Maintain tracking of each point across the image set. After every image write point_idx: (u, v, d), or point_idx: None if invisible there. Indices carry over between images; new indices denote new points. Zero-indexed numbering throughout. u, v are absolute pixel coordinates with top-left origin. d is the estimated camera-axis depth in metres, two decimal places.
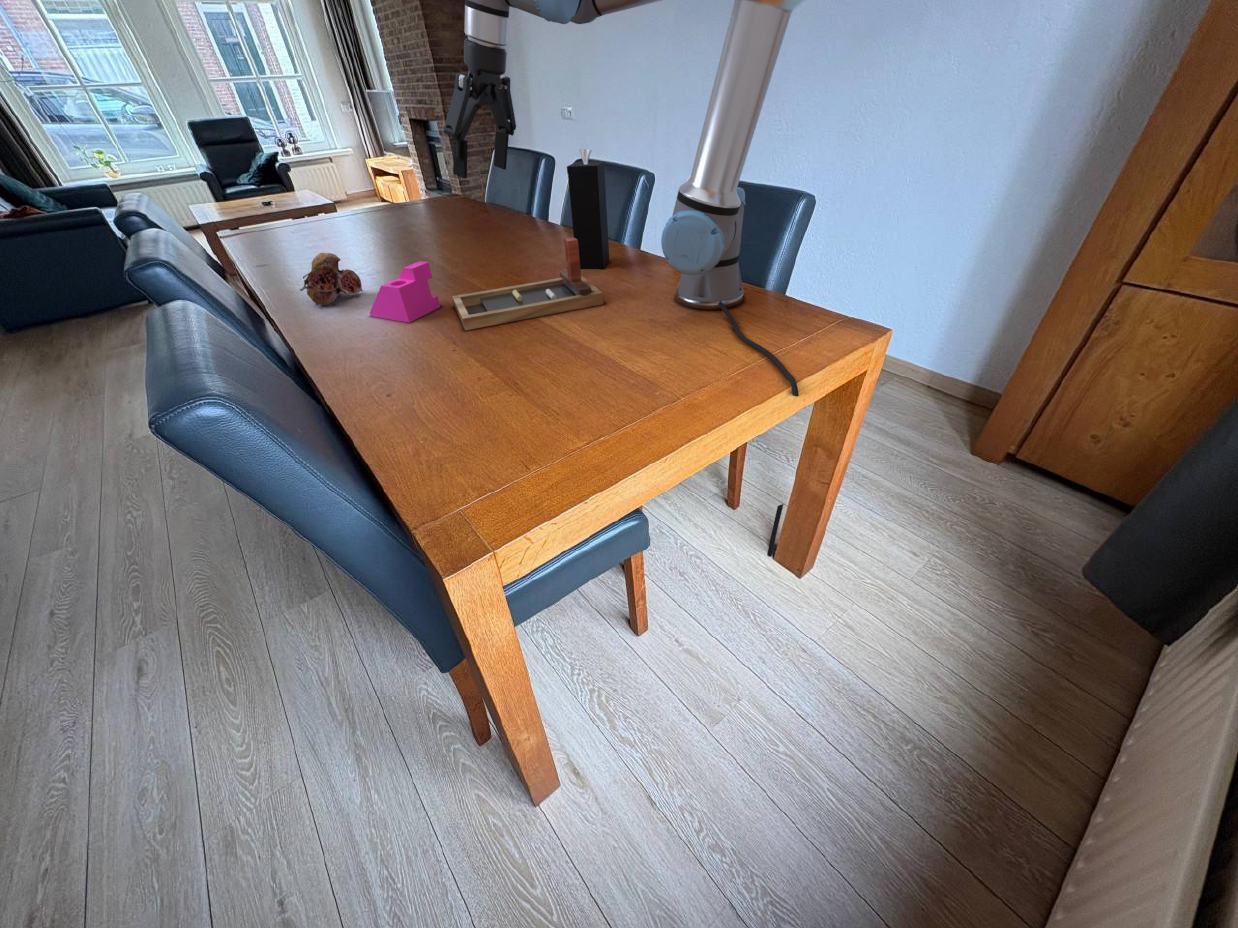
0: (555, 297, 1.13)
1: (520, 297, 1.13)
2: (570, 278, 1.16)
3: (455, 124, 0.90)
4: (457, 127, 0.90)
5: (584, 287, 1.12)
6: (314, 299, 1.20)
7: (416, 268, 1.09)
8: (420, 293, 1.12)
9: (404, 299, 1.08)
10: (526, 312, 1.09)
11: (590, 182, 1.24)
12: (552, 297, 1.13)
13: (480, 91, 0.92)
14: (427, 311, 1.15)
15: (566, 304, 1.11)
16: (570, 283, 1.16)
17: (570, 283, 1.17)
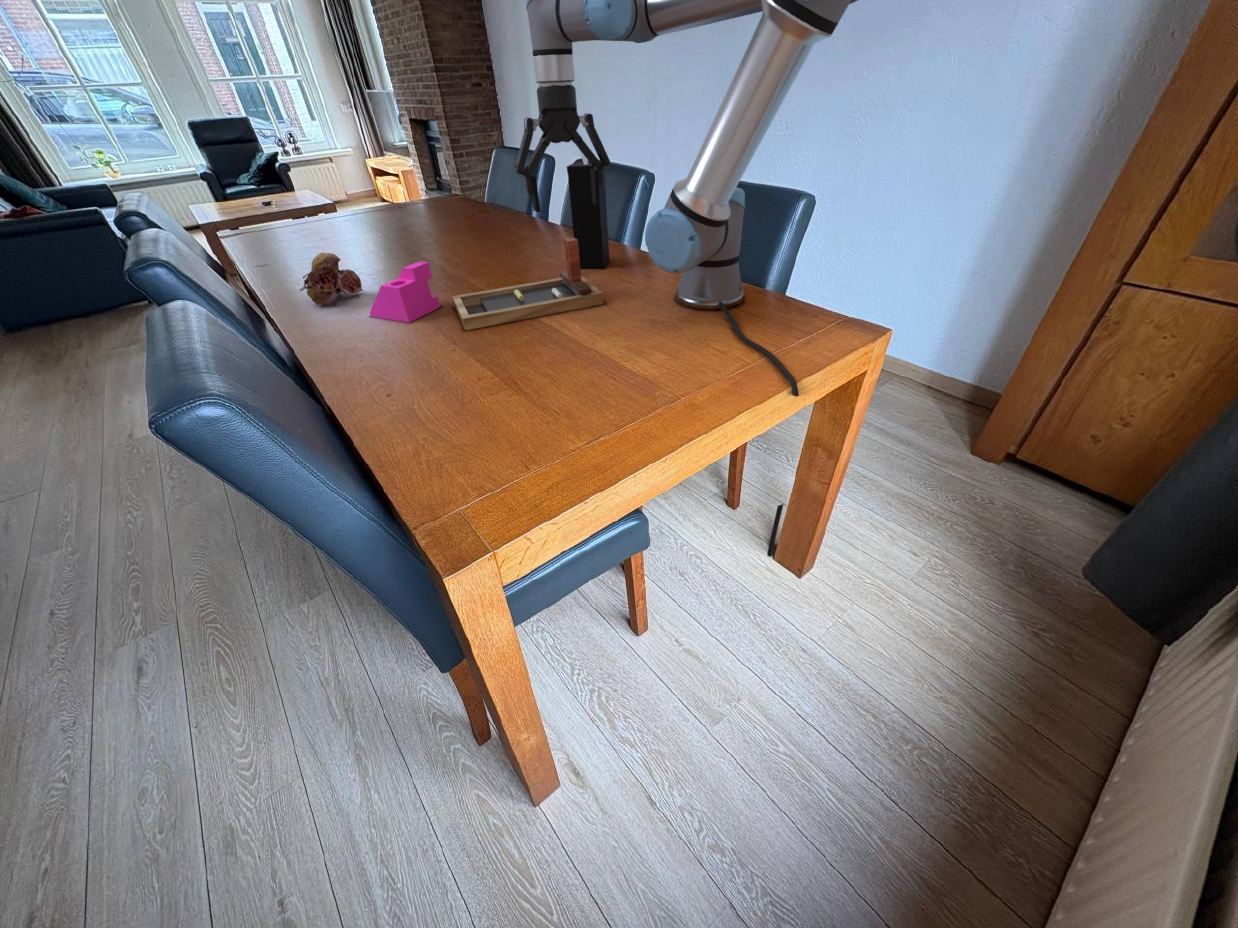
0: None
1: (522, 297, 1.14)
2: (570, 278, 1.16)
3: (518, 162, 0.98)
4: (520, 164, 0.98)
5: (584, 287, 1.12)
6: (314, 299, 1.20)
7: (416, 268, 1.09)
8: (420, 293, 1.12)
9: (404, 299, 1.08)
10: (526, 312, 1.09)
11: (590, 182, 1.24)
12: (562, 295, 1.13)
13: (548, 130, 0.97)
14: (427, 311, 1.15)
15: (566, 304, 1.11)
16: (570, 283, 1.16)
17: (570, 283, 1.17)
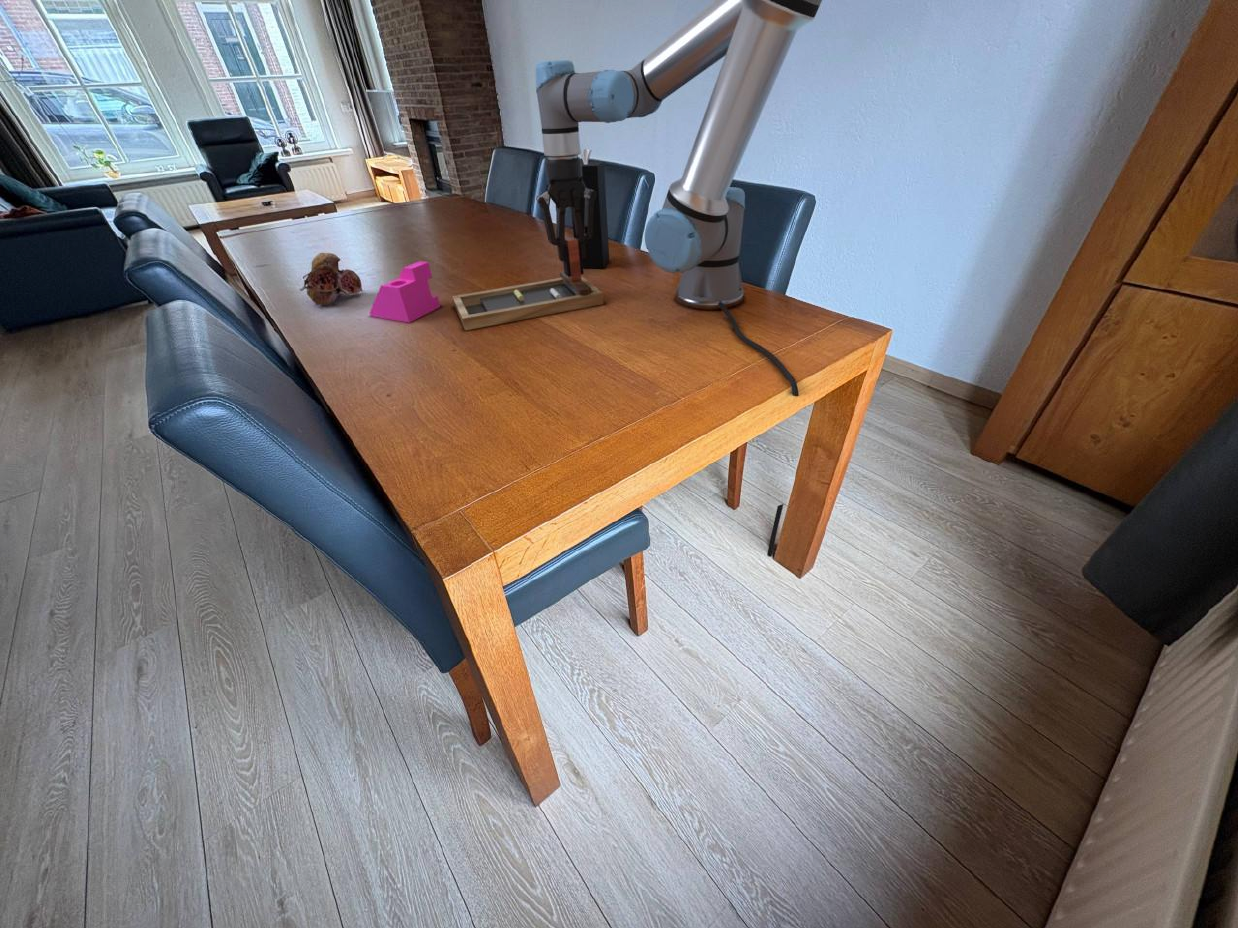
0: (559, 298, 1.13)
1: (522, 297, 1.14)
2: (570, 278, 1.16)
3: (549, 236, 1.08)
4: (551, 237, 1.08)
5: (584, 287, 1.12)
6: (314, 299, 1.20)
7: (416, 268, 1.09)
8: (420, 293, 1.12)
9: (404, 299, 1.08)
10: (526, 312, 1.09)
11: (590, 182, 1.24)
12: (559, 295, 1.13)
13: (559, 200, 1.05)
14: (427, 311, 1.15)
15: (566, 304, 1.11)
16: (570, 283, 1.16)
17: (569, 283, 1.17)
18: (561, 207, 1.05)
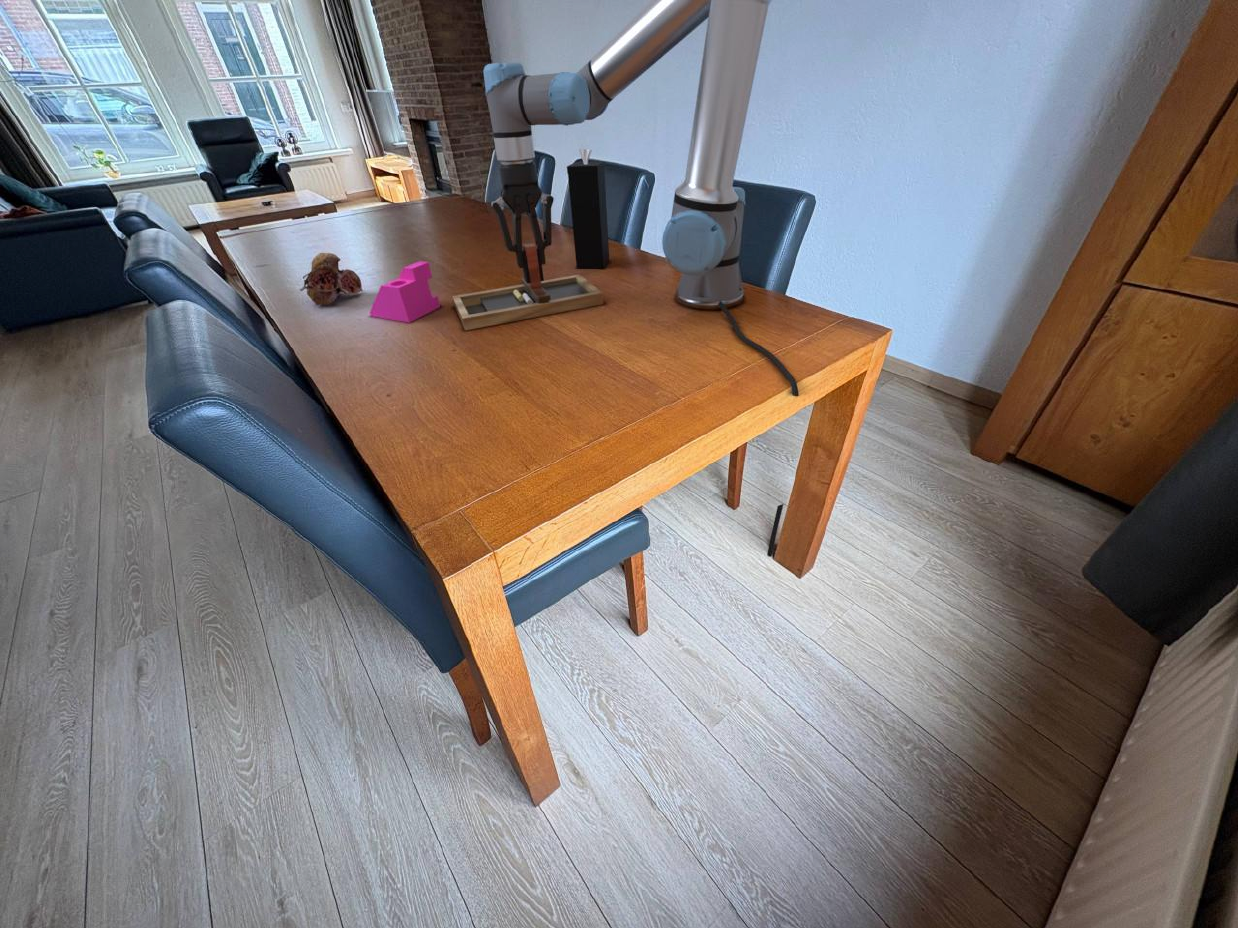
0: (529, 301, 1.11)
1: (521, 297, 1.13)
2: (530, 285, 1.13)
3: (506, 242, 1.06)
4: (508, 243, 1.06)
5: (543, 294, 1.09)
6: (314, 299, 1.20)
7: (416, 268, 1.09)
8: (420, 293, 1.12)
9: (404, 299, 1.08)
10: (526, 312, 1.09)
11: (590, 182, 1.24)
12: None
13: (514, 206, 1.02)
14: (427, 311, 1.15)
15: (566, 304, 1.11)
16: (530, 290, 1.13)
17: (530, 290, 1.14)
18: (516, 213, 1.03)
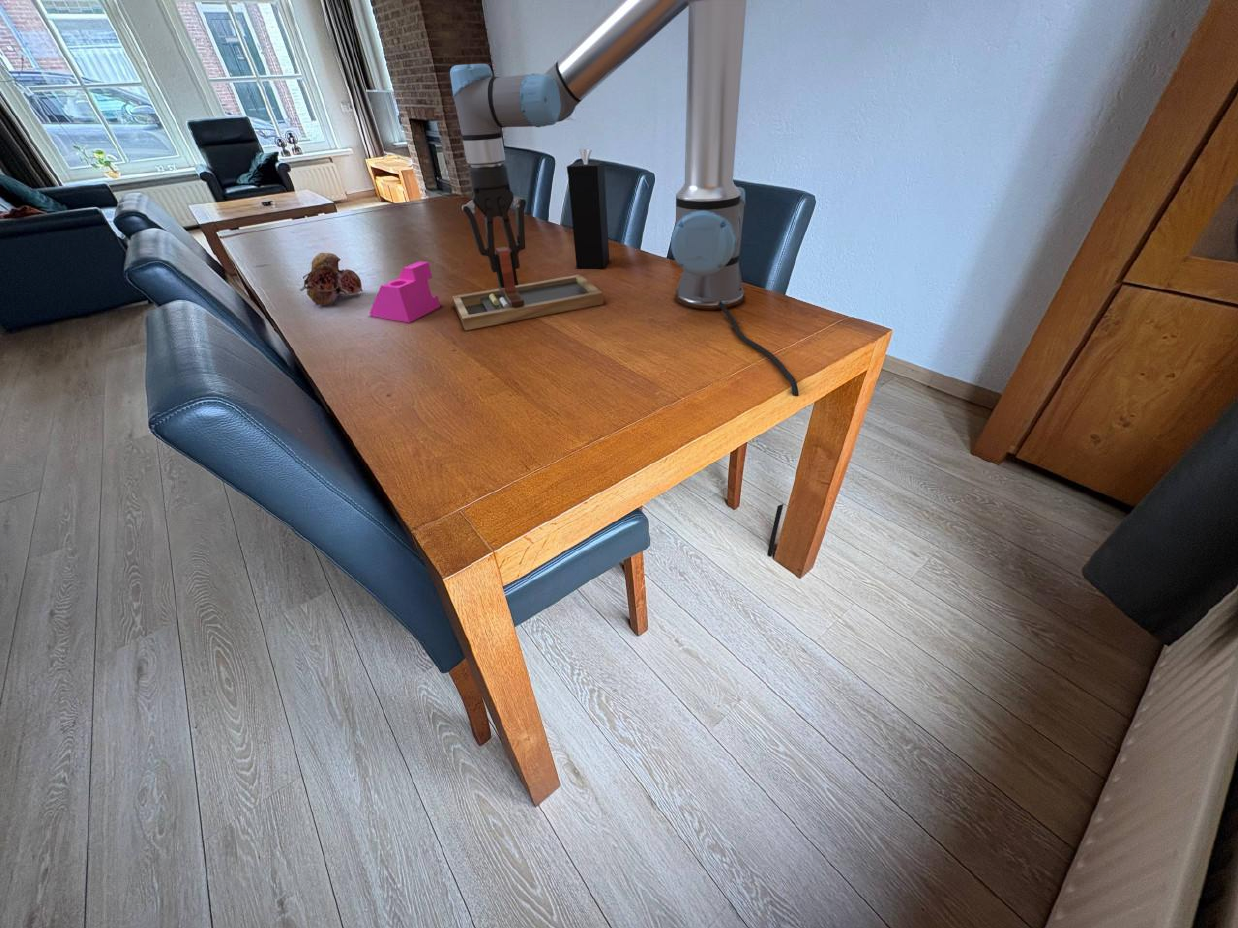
0: (506, 307, 1.10)
1: (494, 303, 1.12)
2: (504, 289, 1.11)
3: (478, 246, 1.04)
4: (480, 247, 1.04)
5: (516, 299, 1.07)
6: (314, 299, 1.20)
7: (416, 268, 1.09)
8: (420, 293, 1.12)
9: (404, 299, 1.08)
10: (526, 312, 1.09)
11: (590, 182, 1.24)
12: (508, 306, 1.10)
13: (485, 209, 1.00)
14: (427, 311, 1.15)
15: (566, 304, 1.11)
16: (504, 294, 1.12)
17: (504, 295, 1.12)
18: (488, 216, 1.01)
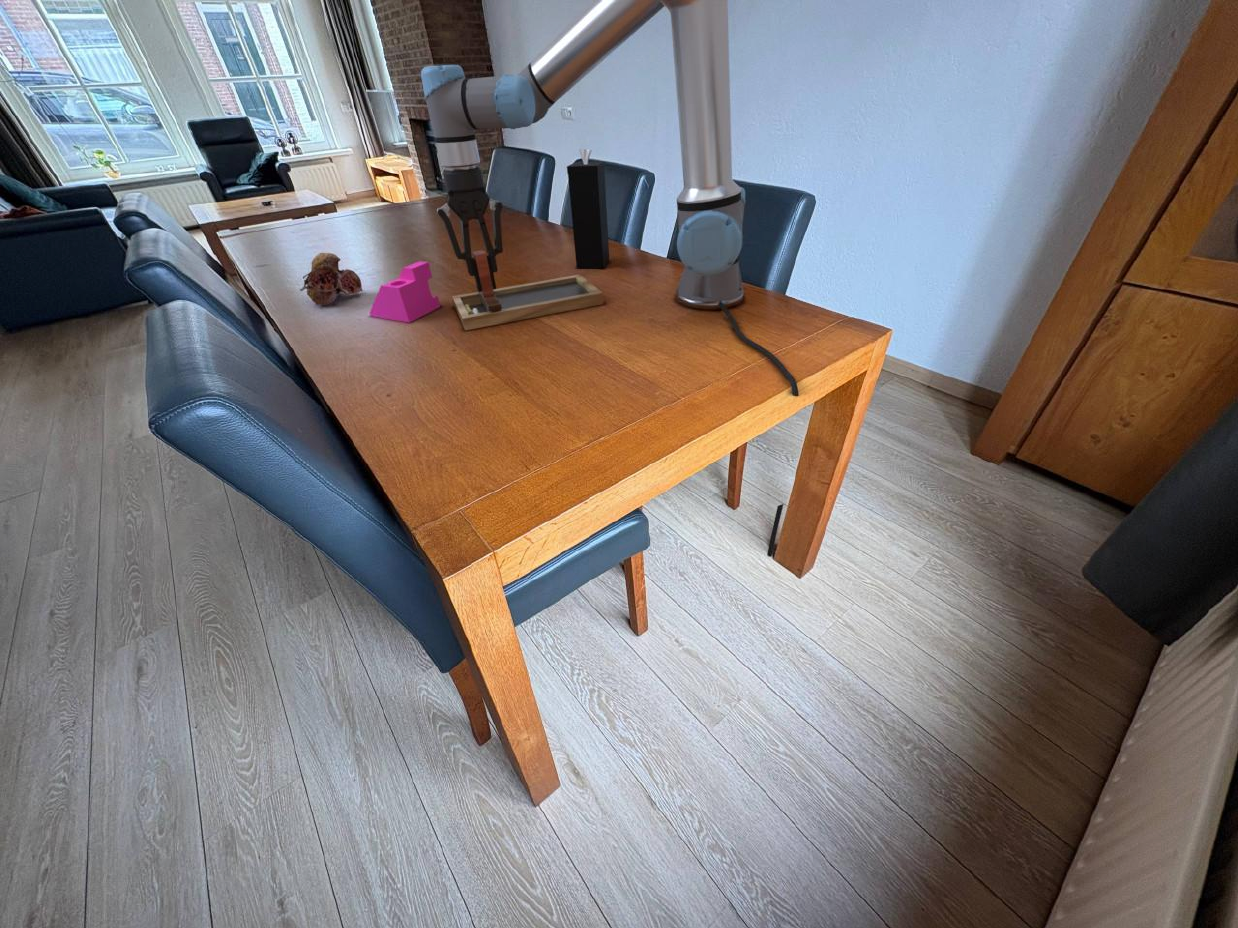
0: None
1: (471, 312, 1.11)
2: (482, 293, 1.10)
3: (454, 250, 1.03)
4: (456, 251, 1.03)
5: (494, 303, 1.06)
6: (314, 299, 1.20)
7: (416, 268, 1.09)
8: (420, 293, 1.12)
9: (404, 299, 1.08)
10: (526, 312, 1.09)
11: (590, 182, 1.24)
12: None
13: (460, 212, 0.99)
14: (427, 311, 1.15)
15: (566, 304, 1.11)
16: (482, 298, 1.10)
17: (482, 298, 1.11)
18: (463, 220, 0.99)
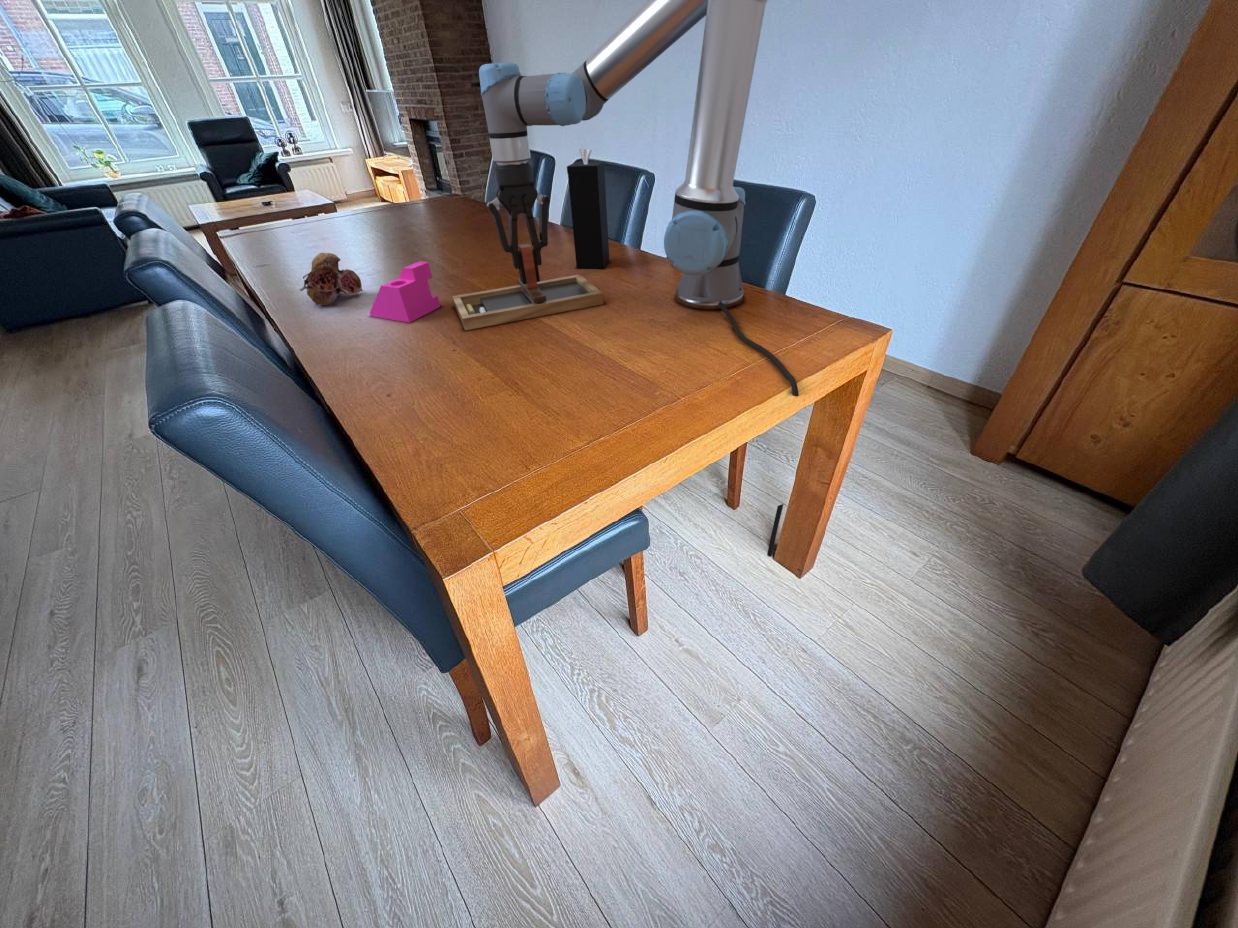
0: None
1: (473, 313, 1.11)
2: (526, 286, 1.13)
3: (502, 243, 1.05)
4: (504, 244, 1.05)
5: (539, 295, 1.09)
6: (314, 299, 1.20)
7: (416, 268, 1.09)
8: (420, 293, 1.12)
9: (404, 299, 1.08)
10: (526, 312, 1.09)
11: (590, 182, 1.24)
12: None
13: (510, 206, 1.02)
14: (427, 311, 1.15)
15: (566, 304, 1.11)
16: (526, 291, 1.13)
17: (526, 291, 1.13)
18: (512, 213, 1.02)
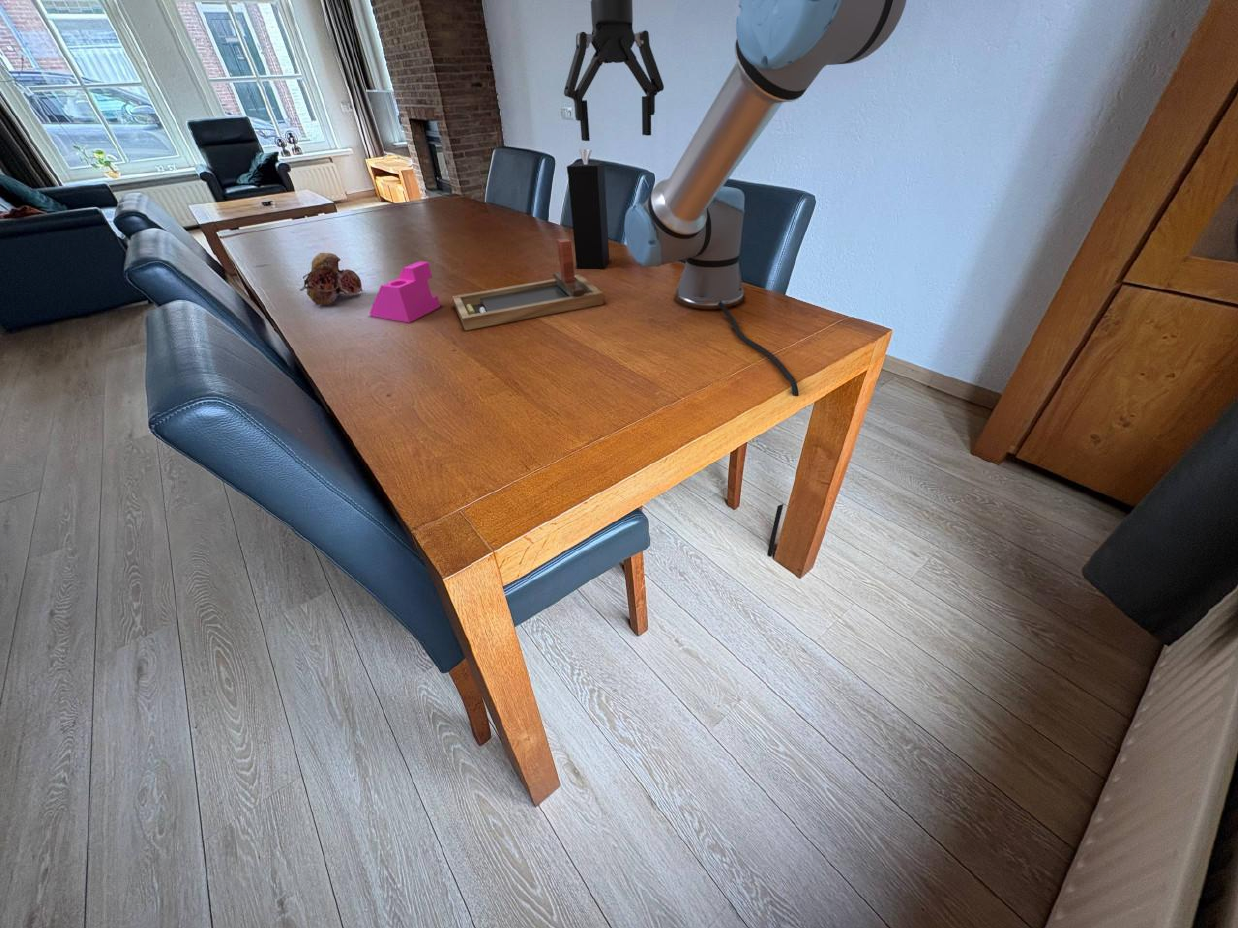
0: None
1: (473, 313, 1.11)
2: (563, 279, 1.15)
3: (569, 82, 0.92)
4: (571, 85, 0.92)
5: (577, 288, 1.11)
6: (314, 299, 1.20)
7: (416, 268, 1.09)
8: (420, 293, 1.12)
9: (404, 299, 1.08)
10: (526, 312, 1.09)
11: (590, 182, 1.24)
12: None
13: (602, 47, 0.91)
14: (427, 311, 1.15)
15: (566, 304, 1.11)
16: (563, 284, 1.16)
17: (563, 284, 1.16)
18: (601, 55, 0.91)
